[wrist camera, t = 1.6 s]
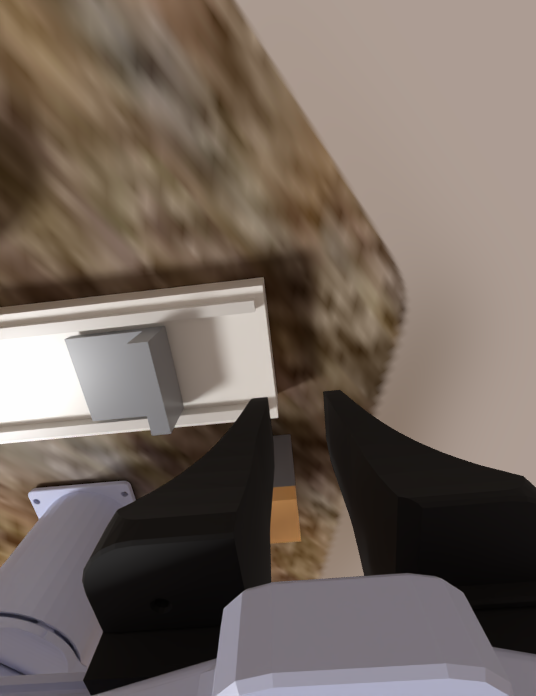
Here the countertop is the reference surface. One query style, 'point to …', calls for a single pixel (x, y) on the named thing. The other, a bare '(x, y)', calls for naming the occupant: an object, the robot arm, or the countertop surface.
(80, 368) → the shutter
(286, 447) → the orange and grey block
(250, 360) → the socket board
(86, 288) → the countertop surface
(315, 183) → the countertop surface
